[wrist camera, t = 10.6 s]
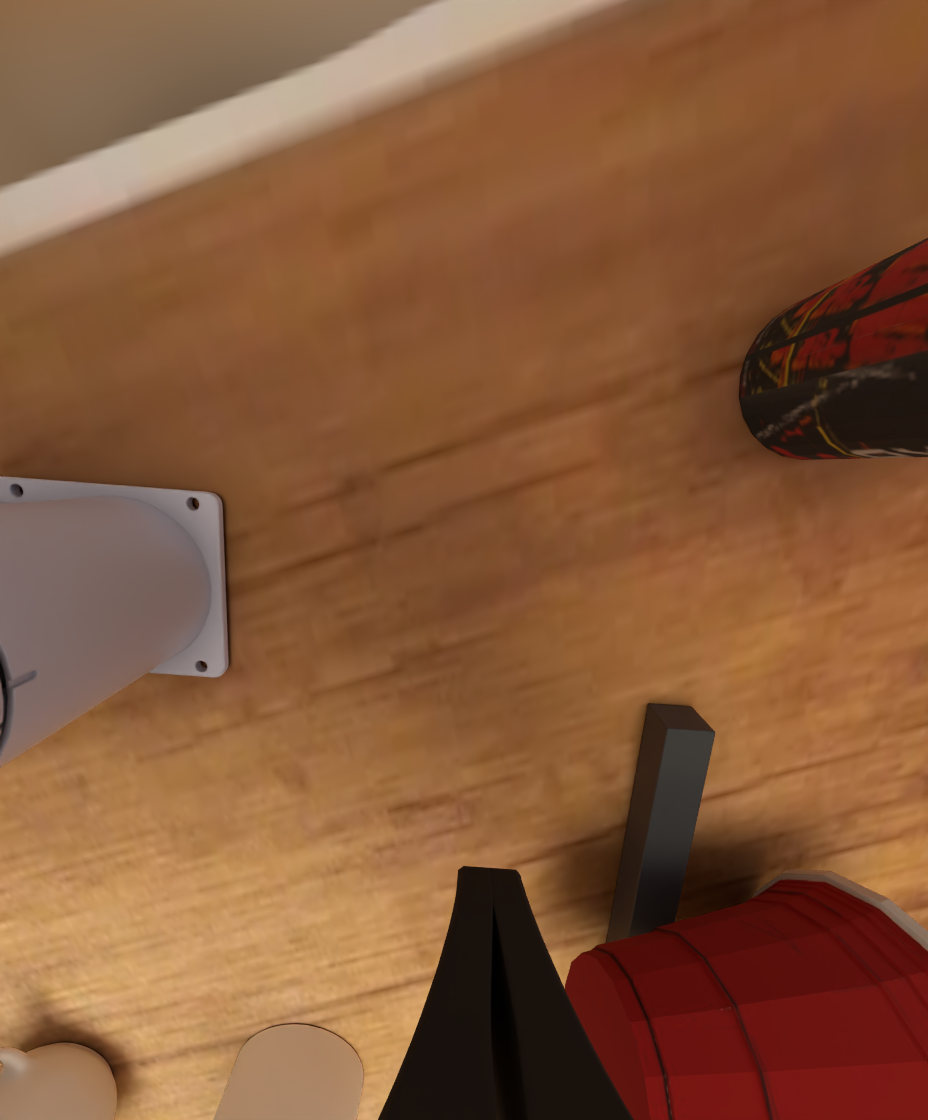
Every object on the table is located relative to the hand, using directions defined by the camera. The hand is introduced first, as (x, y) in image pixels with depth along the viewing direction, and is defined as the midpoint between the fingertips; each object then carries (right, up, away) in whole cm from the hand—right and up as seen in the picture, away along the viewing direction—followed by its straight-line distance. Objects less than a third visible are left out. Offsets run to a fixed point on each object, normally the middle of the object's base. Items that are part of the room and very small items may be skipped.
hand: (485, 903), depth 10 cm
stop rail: (+8, -7, +12) cm, 16 cm away
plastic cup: (+4, -9, +5) cm, 11 cm away
